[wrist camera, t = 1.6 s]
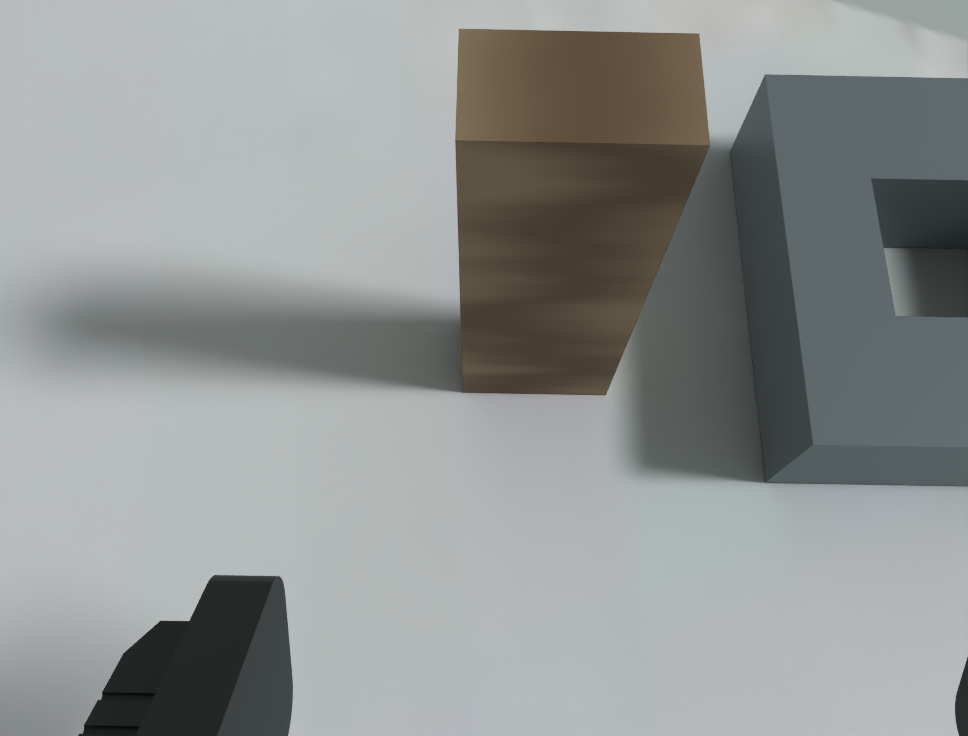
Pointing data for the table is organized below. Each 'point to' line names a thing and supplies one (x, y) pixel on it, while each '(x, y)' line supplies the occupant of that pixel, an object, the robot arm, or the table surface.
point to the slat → (567, 196)
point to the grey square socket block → (853, 276)
